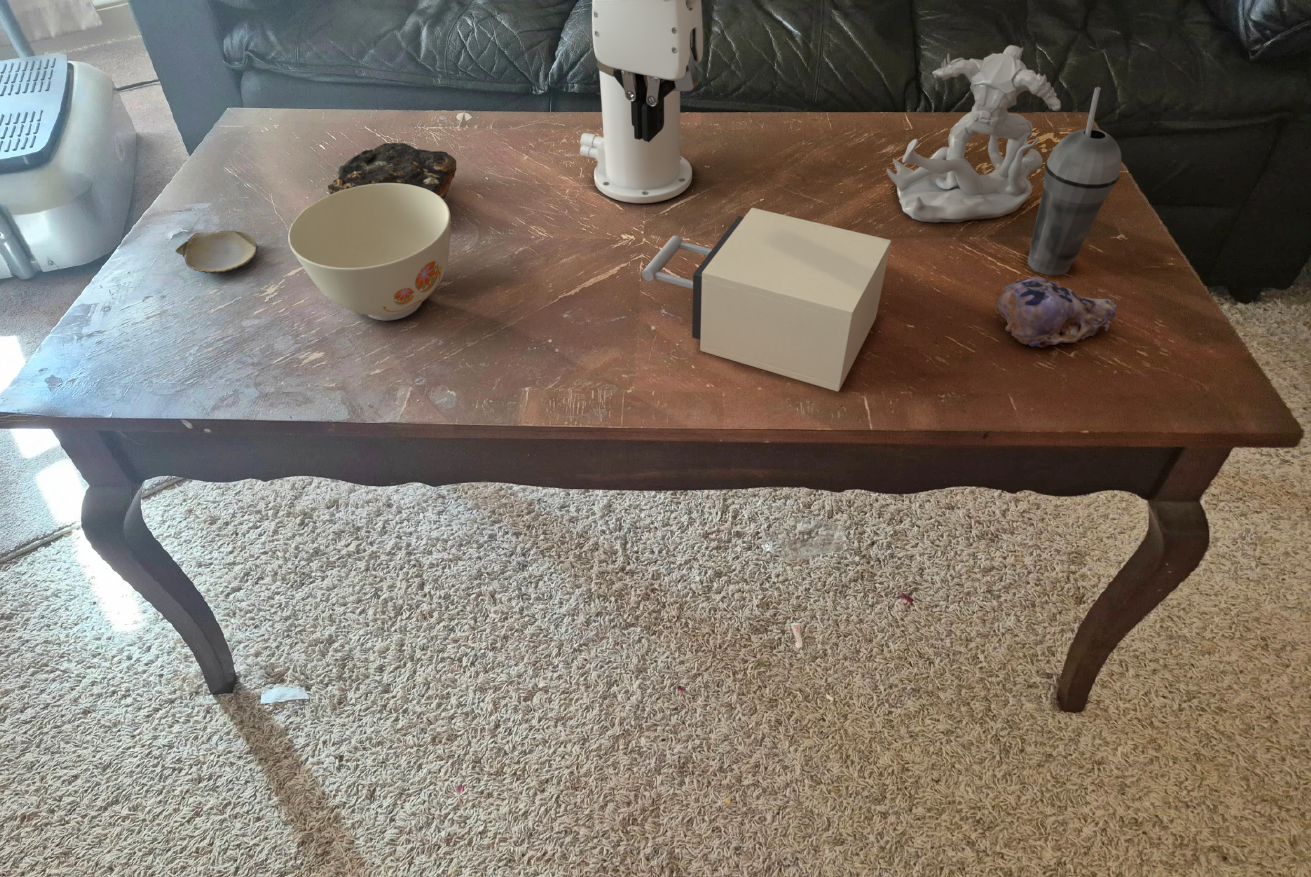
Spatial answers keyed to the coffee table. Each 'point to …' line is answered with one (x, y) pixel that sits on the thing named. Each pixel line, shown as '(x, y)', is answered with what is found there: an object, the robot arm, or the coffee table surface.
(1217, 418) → the coffee table surface
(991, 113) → the figurine
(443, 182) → the fossil rock
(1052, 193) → the beverage cup
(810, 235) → the cream drawer box
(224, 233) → the seashell
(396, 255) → the bowl
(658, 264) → the dark grey drawer
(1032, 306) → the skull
